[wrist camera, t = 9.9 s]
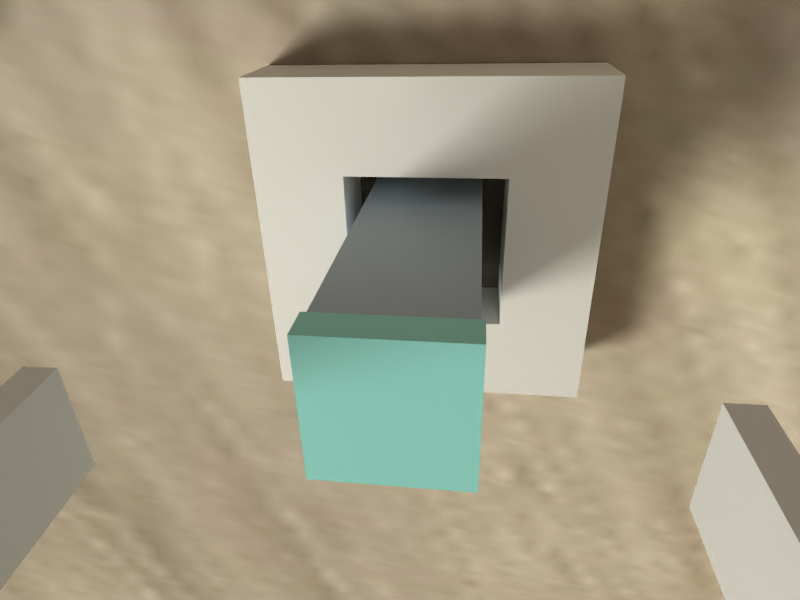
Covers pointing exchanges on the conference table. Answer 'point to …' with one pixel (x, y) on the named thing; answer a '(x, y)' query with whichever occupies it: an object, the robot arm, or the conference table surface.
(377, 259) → the plug
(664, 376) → the conference table surface
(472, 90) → the frame
